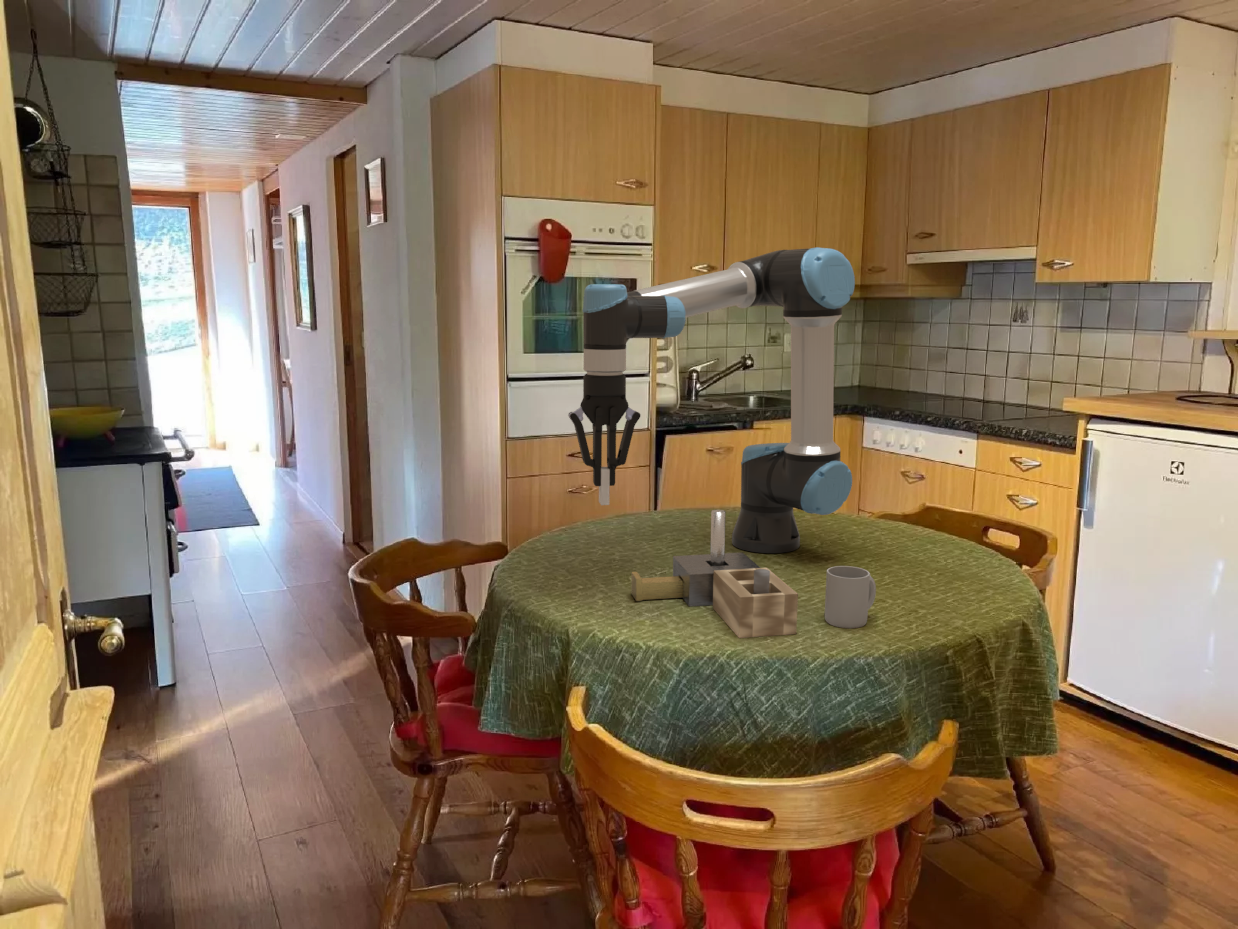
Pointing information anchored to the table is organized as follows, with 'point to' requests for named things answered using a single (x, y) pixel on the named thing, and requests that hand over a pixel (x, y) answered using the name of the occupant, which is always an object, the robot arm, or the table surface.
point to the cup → (848, 596)
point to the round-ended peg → (717, 538)
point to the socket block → (704, 574)
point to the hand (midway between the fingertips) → (604, 503)
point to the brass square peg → (656, 587)
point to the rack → (755, 602)
